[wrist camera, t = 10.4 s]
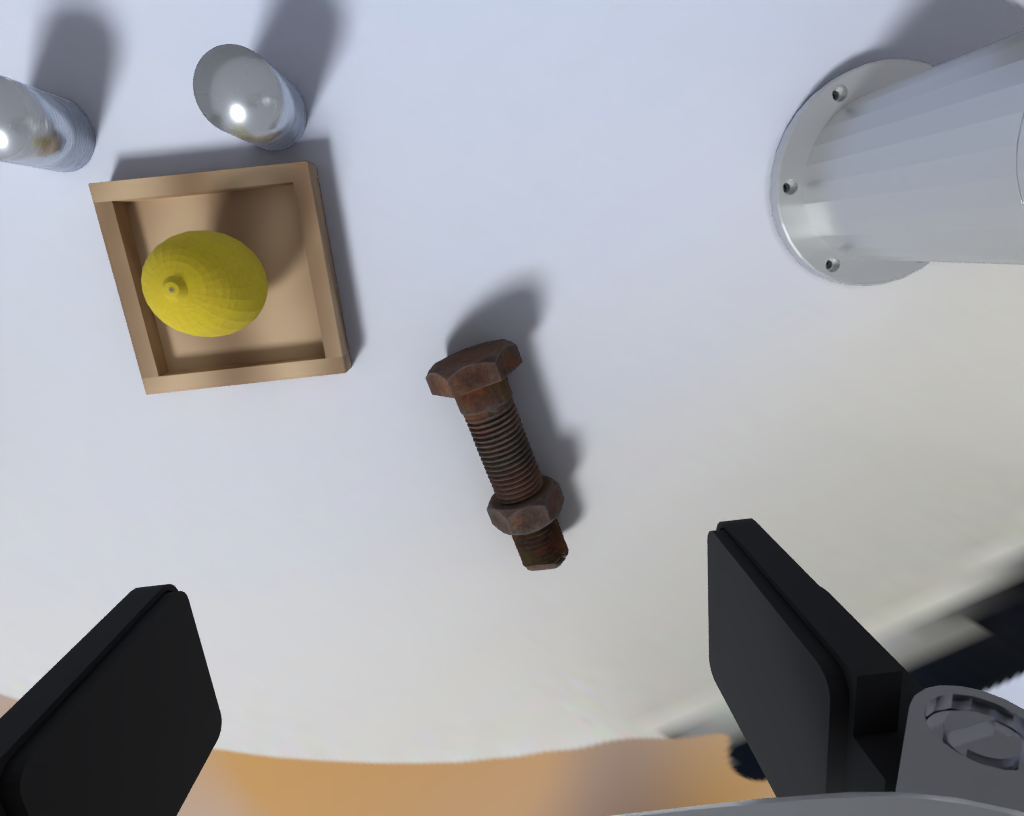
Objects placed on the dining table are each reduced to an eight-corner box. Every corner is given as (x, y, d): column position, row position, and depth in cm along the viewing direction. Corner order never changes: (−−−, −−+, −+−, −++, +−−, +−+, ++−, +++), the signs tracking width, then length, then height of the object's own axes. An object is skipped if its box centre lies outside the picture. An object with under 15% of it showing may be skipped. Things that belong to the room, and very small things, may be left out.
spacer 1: (83, 91, 33) (14, 65, 28) (103, 168, 34) (41, 155, 29) (10, 99, 33) (-71, 73, 28) (33, 175, 34) (-41, 163, 29)
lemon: (210, 336, 36) (136, 360, 28) (177, 244, 35) (89, 243, 27) (298, 315, 36) (248, 333, 28) (268, 222, 35) (206, 214, 27)
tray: (315, 165, 34) (306, 161, 33) (351, 367, 38) (345, 372, 36) (108, 186, 34) (88, 183, 32) (161, 387, 37) (146, 394, 36)
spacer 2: (299, 70, 33) (268, 40, 28) (312, 147, 34) (284, 130, 29) (227, 77, 33) (184, 48, 28) (243, 154, 34) (204, 138, 29)
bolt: (531, 536, 44) (458, 347, 39) (594, 533, 41) (523, 331, 36) (497, 589, 39) (409, 381, 34) (566, 590, 36) (480, 365, 32)
